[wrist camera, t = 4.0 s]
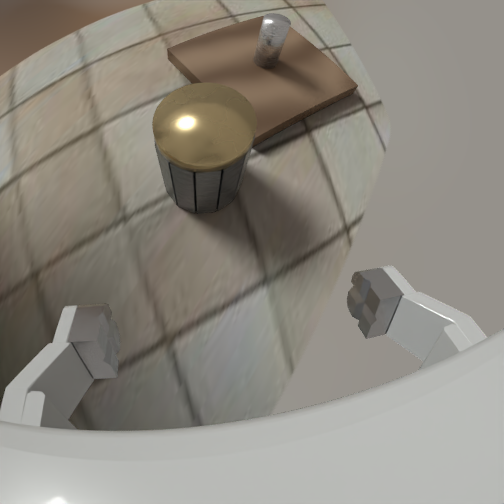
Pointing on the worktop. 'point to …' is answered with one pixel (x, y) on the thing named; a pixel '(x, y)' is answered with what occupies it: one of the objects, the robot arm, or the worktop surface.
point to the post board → (264, 74)
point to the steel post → (271, 40)
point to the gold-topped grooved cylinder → (203, 144)
